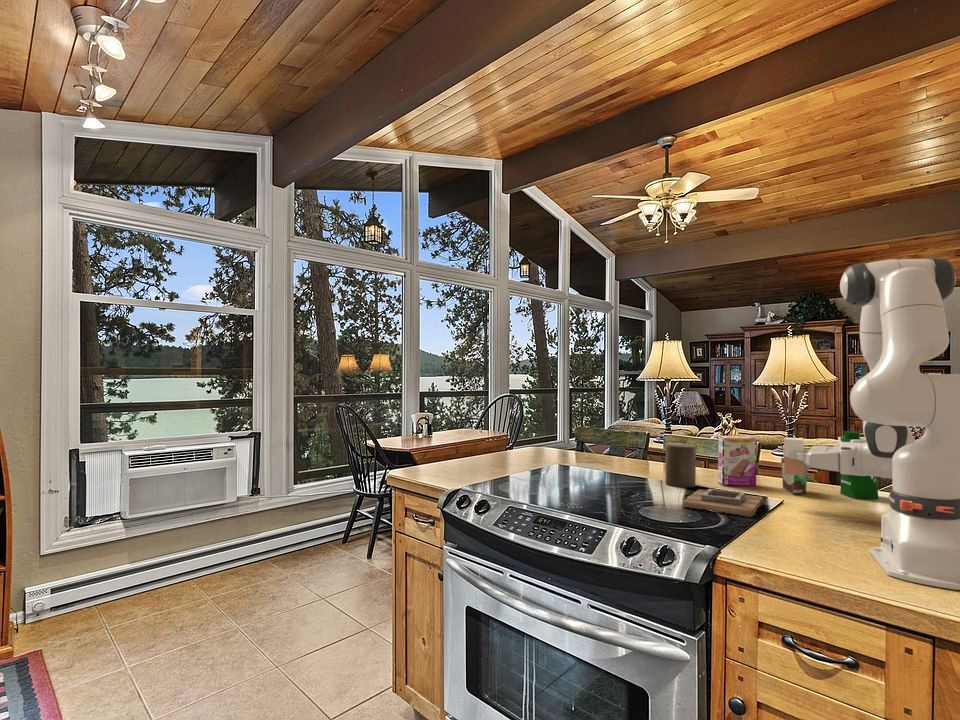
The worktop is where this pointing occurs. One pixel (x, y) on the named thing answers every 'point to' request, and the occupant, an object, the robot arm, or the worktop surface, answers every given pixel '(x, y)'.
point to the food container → (795, 481)
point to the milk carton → (857, 484)
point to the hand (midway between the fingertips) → (790, 454)
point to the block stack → (793, 464)
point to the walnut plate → (724, 501)
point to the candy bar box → (736, 461)
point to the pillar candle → (680, 464)
